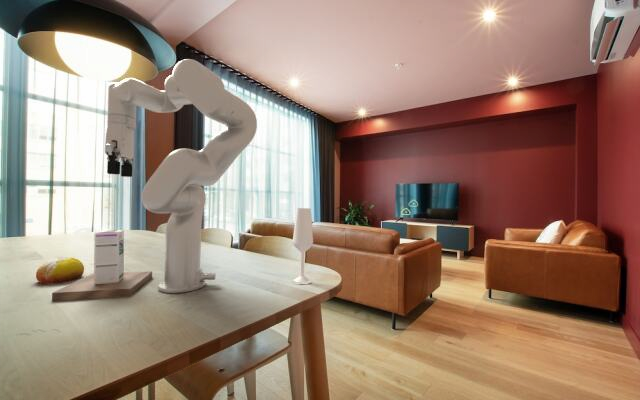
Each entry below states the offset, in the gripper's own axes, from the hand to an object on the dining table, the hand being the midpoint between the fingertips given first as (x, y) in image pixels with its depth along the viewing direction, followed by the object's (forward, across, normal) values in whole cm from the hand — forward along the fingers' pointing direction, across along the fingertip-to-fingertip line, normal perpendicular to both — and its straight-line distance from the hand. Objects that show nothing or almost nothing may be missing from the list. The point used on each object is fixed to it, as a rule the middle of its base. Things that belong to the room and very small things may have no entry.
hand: (120, 175), depth 89 cm
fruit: (+34, -1, -16) cm, 37 cm away
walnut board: (+33, +11, +2) cm, 35 cm away
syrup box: (+32, +11, +2) cm, 34 cm away
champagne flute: (+33, +16, +58) cm, 69 cm away
